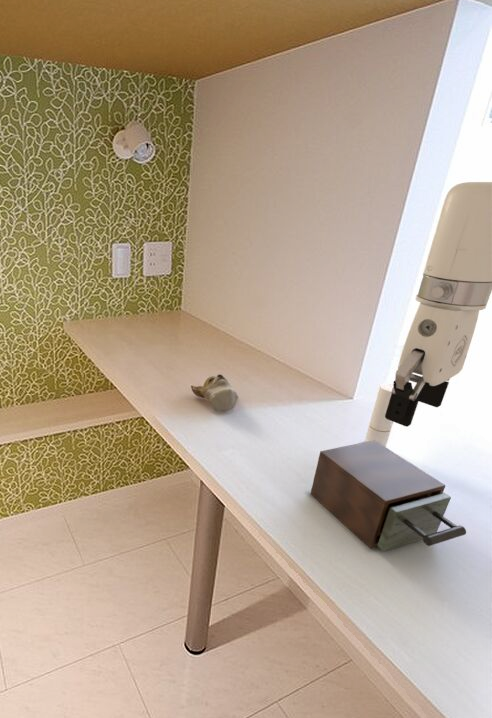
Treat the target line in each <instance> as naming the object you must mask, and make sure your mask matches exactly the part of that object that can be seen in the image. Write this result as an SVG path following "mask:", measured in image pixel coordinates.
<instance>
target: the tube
mask: <svg viewBox="0 0 492 718" xmlns="http://www.w3.org/2000/svg"><path fill="white" fill-rule="evenodd" d="M393 387H394V385H393V383H382V384H380V385H379V387H378V392H377V395H376V399H375V402H374V406H373V410H372V414H371V416H370V421H369V423H368V428H367V431H366V436H365V438H364V442H368V441H373V440H375V441H376V442H378V443H380V444H381V445H383V446H384V447H386V448H387V444H388V441H389V438H390V434H391V431H392V427H393V424H394V422H393V421H390V420H388V419H386V418H385V414H386V411H387V407H388V404H389V401H390V397H391V394H392V393H391V392H392V389H393Z"/></svg>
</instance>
